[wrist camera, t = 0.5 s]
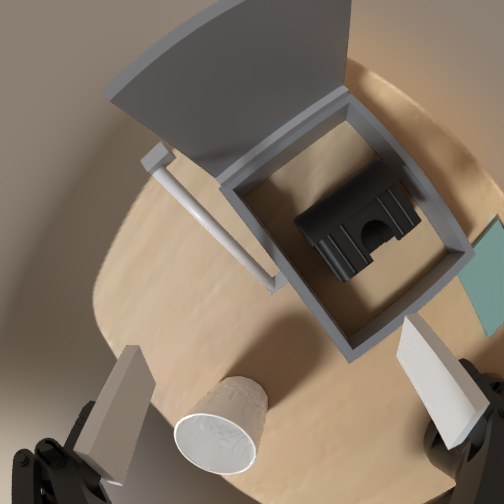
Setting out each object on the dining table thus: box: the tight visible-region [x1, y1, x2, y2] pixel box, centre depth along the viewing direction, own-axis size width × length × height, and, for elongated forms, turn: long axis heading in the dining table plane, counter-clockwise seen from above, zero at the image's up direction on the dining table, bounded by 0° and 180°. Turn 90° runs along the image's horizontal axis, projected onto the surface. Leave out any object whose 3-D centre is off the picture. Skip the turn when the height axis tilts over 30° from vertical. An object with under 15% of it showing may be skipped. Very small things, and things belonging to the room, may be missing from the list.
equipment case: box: [103, 0, 476, 364], centre depth 18 cm, size 23×19×21 cm
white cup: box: [174, 376, 268, 475], centre depth 25 cm, size 8×8×10 cm
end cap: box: [294, 159, 421, 282], centre depth 24 cm, size 10×7×7 cm
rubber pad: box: [457, 219, 504, 337], centre depth 23 cm, size 11×9×1 cm
